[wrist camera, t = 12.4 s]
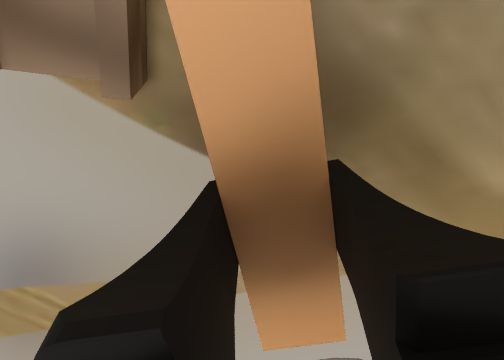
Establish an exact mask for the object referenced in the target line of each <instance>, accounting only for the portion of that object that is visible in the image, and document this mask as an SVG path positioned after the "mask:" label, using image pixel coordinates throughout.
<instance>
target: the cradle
mask: <svg viewBox="0 0 504 360" xmlns="http://www.w3.org/2000/svg"><path fill="white" fill-rule="evenodd" d="M0 69H7V70H15V71H23V72H31V73H39V74H47V75H55V76H63V77H71V78H79V79H87V80H95V81H101V91H102V97H106V98H115V99H123V100H131V99H132V98H133V97H134V96H135V94H136V93H137V92H138V91H139V90H140V88H141V87H142V86H143V85H144V83H145V82H146V81H147V48H146V0H0Z"/></svg>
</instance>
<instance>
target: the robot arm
mask: <svg viewBox="0 0 504 360" xmlns="http://www.w3.org/2000/svg"><path fill="white" fill-rule="evenodd" d="M327 164H328V173H329V183H330V192H331V202H332V211H333V221H334V230H335V240H336V248H337V251H338V253H339V256H340V258H341V261H342V263H343V266H344V268H345V271H346V273H347V276H348V278H349V281H350V284H351V286H352V289H353V292H354V295H355V298H356V301H357V305H358V308H359V312H360V316H361V319H362V323H363V326H364V330H365V334H366V338H367V341H368V345H369V349H370V353H371V356H372V360H504V239H500V238H496V237H491V236H487V235H483V234H480V233H476V232H473V231H469V230H466V229H462V228H459V227H456V226H453V225H450V224H447V223H444V222H442V221H439V220H437V219H434V218H432V217H429V216H426V215H424V214H422V213H420V212H417V211H415V210H413V209H411V208H409V207H407V206H405V205H403V204H401V203H399V202H397V201H395V200H394V199H392V198H390V197H389V196H387V195H385V194H384V193H382V192H381V191H379V190H377V189H376V188H374V187H373V186H372V185H370V184H369V183H368V182H366V181H365V180H363V179H362V178H361V177H360V176H358V175H357V174H356V173H355V172H353V171H352V170H351V169H350V168H348V167H347V166H346V165H345V164H344V163H342V162H341V161H340V160H338V159H336V160H331V161H327ZM238 265H239V262H238V258H237V255H236V251H235V248H234V244H233V240H232V237H231V233H230V230H229V226H228V223H227V219H226V215H225V212H224V208H223V205H222V201H221V198H220V194H219V190H218V187H217V183H216V180H214V181H209V183H208V184H207V185H206V187H205V188H204V189H203V191H202V192H201V193H200V195H199V196H198V198H197V199H196V200H195V202H194V203H193V204H192V206H191V207H190V208H189V210H188V211H187V212H186V213H185V215H184V216H183V217H182V218H181V219H180V221H179V222H178V223H177V224H176V225H175V226H174V228H173V229H172V230H171V231H170V232H169V233H168V234H167V235H166V236H165V237H164V238H163V239H162V240H161V241H160V242H159V243H158V244H157V245H156V246H155V247H154V248H153V249H152V250H151V251H150V252H148V253H147V254H146V255H145V256H144V257H143V258H141V259H140V260H139V261H137V262H136V263H135V264H134V265H132V266H131V267H130V268H129V269H128V270H126V271H125V272H123V273H122V274H121V275H119V276H118V277H116V278H115V279H113V280H112V281H110V282H109V283H107V284H106V285H104V286H103V287H101V288H100V289H98V290H96V291H95V292H93V293H92V294H90V295H88V296H86V297H85V298H83V299H81V300H79V301H77V302H76V303H74V304H72V305H70V306H69V307H67V308H65V309H63V310H61V311H59V313H58V315H57V316H56V318H55V320H54V322H53V324H52V326H51V328H50V329H49V331H48V333H47V335H46V337H45V339H44V341H43V343H42V344H41V346H40V348H39V350H38V352H37V354H36V356H35V358H34V360H235V332H234V331H235V329H234V328H235V327H234V312H235V297H236V287H237V276H238ZM321 360H362V359H354V358H329V359H321Z"/></svg>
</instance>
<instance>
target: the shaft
mask: <svg viewBox="0 0 504 360" xmlns="http://www.w3.org/2000/svg"><path fill="white" fill-rule="evenodd" d="M165 1H166V4H167V8H168V12H169V15H170V19H171V22H172V26H173V29H174V33H175V37H176V40H177V44H178V47H179V51H180V54H181V58H182V62H183V65H184V69H185V72H186V76H187V80H188V83H189V87H190V90H191V94H192V97H193V101H194V105H195V108H196V112H197V115H198V119H199V122H200V126H201V130H202V133H203V137H204V140H205V144H206V147H207V151H208V155H209V158H210V162H211V165H212V169H213V172H214V176H215V179H216V183H217V187H218V190H219V194H220V198H221V201H222V205H223V208H224V212H225V215H226V219H227V223H228V226H229V230H230V233H231V237H232V240H233V244H234V248H235V251H236V255H237V258H238V262H239V266H240V269H241V273H242V276H243V280H244V283H245V287H246V291H247V294H248V298H249V301H250V305H251V308H252V312H253V315H254V319H255V323H256V326H257V330H258V333H259V337H260V341H261V344H262V348H263V350H264V351H267V350H275V349H283V348H291V347H299V346H307V345H315V344H323V343H331V342H339V341H346V335H345V325H344V317H343V316H344V315H343V306H342V297H341V287H340V278H339V268H338V259H337V249H336V240H335V230H334V221H333V211H332V202H331V192H330V183H329V173H328V164H327V154H326V145H325V135H324V126H323V116H322V107H321V98H320V88H319V79H318V69H317V60H316V50H315V41H314V31H313V22H312V12H311V3H310V0H165Z"/></svg>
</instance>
